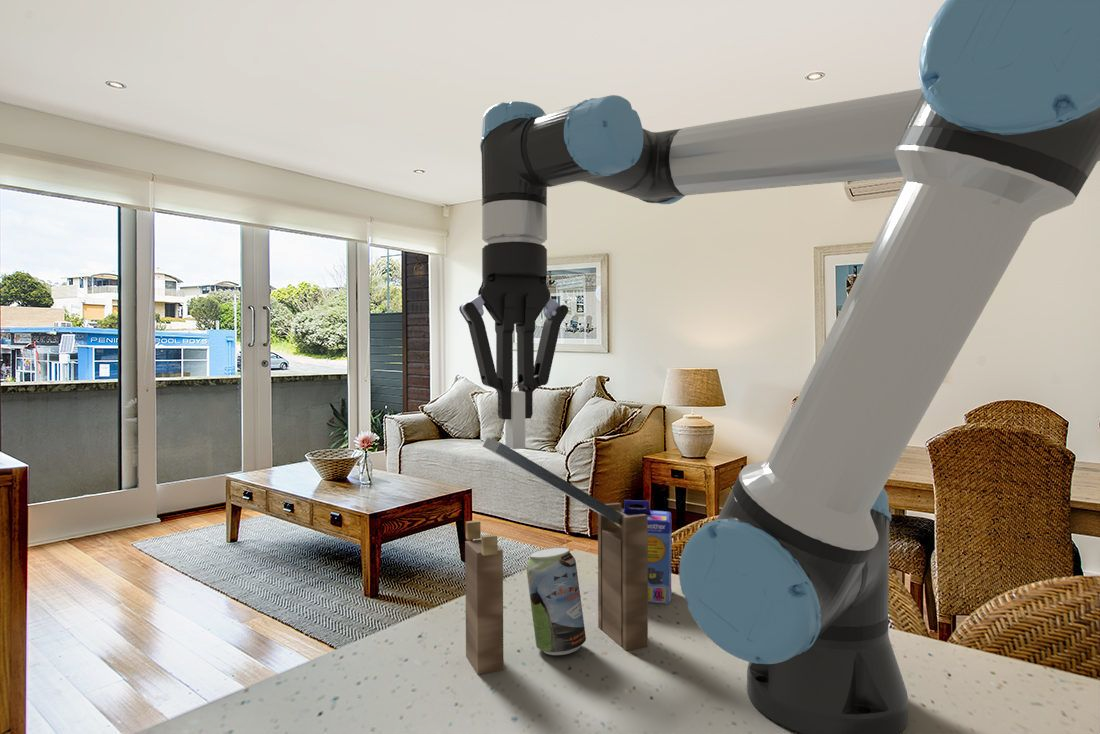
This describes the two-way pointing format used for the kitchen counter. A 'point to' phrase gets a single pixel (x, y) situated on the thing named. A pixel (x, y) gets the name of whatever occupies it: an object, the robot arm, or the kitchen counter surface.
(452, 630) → the kitchen counter surface
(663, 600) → the ink cartridge box
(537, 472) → the grey bridge beam
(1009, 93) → the robot arm
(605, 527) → the can clamp frame
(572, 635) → the beverage can
